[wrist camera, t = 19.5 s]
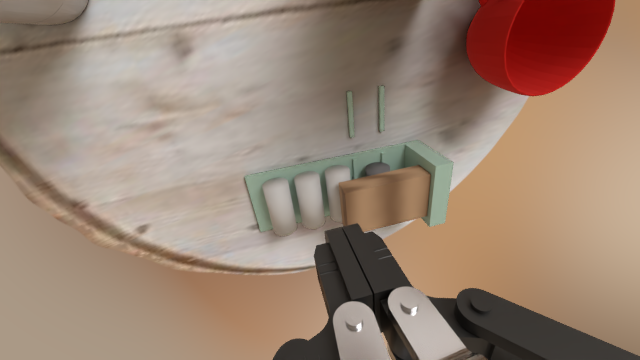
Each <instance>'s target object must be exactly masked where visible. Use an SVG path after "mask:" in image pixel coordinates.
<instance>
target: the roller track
mask: <svg viewBox="0 0 640 360" xmlns="http://www.w3.org/2000/svg"><path fill="white" fill-rule="evenodd" d="M374 162H383V163H386V164H388V165H389V166H390V171H394V170H398V169H403V168H407V167H412V166H416V165H420V166H421V167H423V168H424V169H425V170H426V171H428V172H429V173H430V174H431V181H430V191H429V201H428V211H427V216H425V217H421V218H422V219H423V220H424V221H425V223H427V225H428V226H429V227H431V226H435V225H438V224H442V223H445V219H446V212H447V205H448V198H449V191H450V184H451V177H452V170H453V163H454V162H452V161H450V160H449V159H447V158H446V157H444V156H443V155H441V154H440V153H438V152H436V151H435V150H433V149H432V148H430V147H429V146H427V145H425V144H424V143H422V142H421V141H419V140H415V141H411V142H406V143H401V144H396V145H391V146H387V147H382V148H377V149H372V150H367V151H362V152H358V153H353V154H348V155H343V156H338V157H334V158H329V159H324V160H319V161H314V162H309V163H305V164H300V165H295V166H290V167H285V168H280V169H276V170H271V171H266V172H261V173H256V174H252V175H247V176H245V181H246V184H247V187H248V191H249V194H250V198H251V201H252V204H253V208H254V211H255V215H256V218H257V221H258V225H259V228H260V231H261V232H263V231H267V230H271V229H274V233H275V234H276V235H278V236H288V235H290V234H292V233H294V232H295V231H296V229H297V223H301V222H302V223H303V226H304V227H305V228H308V229H317V228H320V227H321V226H323V225H324V223H325V217H326V216H330V217H331V219H332V220H333V221H336V222H342V214H341V204H340V194H339V184H338V183H339V182H344V181H348V180H353V179H358V178H362V177H366V170H365V168H366V166H367V165H368V164H370V163H374Z"/></svg>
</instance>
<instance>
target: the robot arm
mask: <svg viewBox="0 0 640 360" xmlns="http://www.w3.org/2000/svg"><path fill="white" fill-rule="evenodd" d="M87 3H88V0H0V23H18V24H41V25H57V24H64V23H67V22H70V21H72V20H74V19H75V18H77V17H78V16H79V15H81V13H82V12H83V11H84V9H85V8H86V6H87ZM325 239H326V243H325V244H321V245H317V246H316V249H315V254H314V258H315V264H316V269H317V275H318V280H319V284H320V287H321V291H322V294H323V298H324V302H325V305H326V309H327V313H328V316H329V319H328V323H327V324H326V326H325V327H324V329H323V330H322V331H321V332H320V333H318V334H317V335H316V336H314V337H313V338H312V339H310V340H309V341H307V340H305V339H293V340H290V341H288V342H286V343H285V344H283V345H282V346H281V347H280V349H279V350H278V351H277V353H276V355H275V356H274V358H273V360H390V357H391V359H392V360H640V356H638V355H635V354H633V353H630V352H628V351H626V350H623V349H621V348H619V347H616V346H614V345H612V344H609V343H607V342H604V341H602V340H600V339H597V338H595V337H593V336H590V335H588V334H586V333H583V332H581V331H578V330H576V329H573V328H571V327H569V326H567V325H564V324H562V323H560V322H557V321H555V320H553V319H550V318H548V317H545V316H543V315H541V314H538V313H536V312H534V311H531V310H529V309H526V308H524V307H522V306H519V305H517V304H515V303H512V302H510V301H508V300H505V299H503V298H501V297H498V296H496V295H493V294H491V293H489V292H486V291H484V290H481V289H476V288H469V289H465V290H462V291H461V292H460V293H459V294H458V296H457V299H454V298H433V297H429V296H426V295H425V294H424V293H423V292H421V291H420V290H418V289H416V288H414V287H413V286H412V285H411V284H410V282H409V281H408V279H407V277H406V276H405V274H404V273H403V271H402V270H401V268H400V267H399V265H398V263H397V262H396V260H395V259H394V257H393V256H392V254H391V252H390V251H389V249H387V246H386V245H385V243H384V242H383V240H382V238H380V237H379V236H378V235H376V234H375V233H373V232H368V233H365V234H364V233H363V231H362V229H361V227H360V225H359V224H358V223H355V224H351V225H347V226H343V227H339V228H335V229H331V230H327V231H325ZM382 332H383V333H384V335H385V338H386V340H387V342H388V343H387V347H388V352H387V349H386V346H385V344H384V341H383V338H382V335H381V333H382ZM388 353H389V355H390V357H389V355H388Z"/></svg>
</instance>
